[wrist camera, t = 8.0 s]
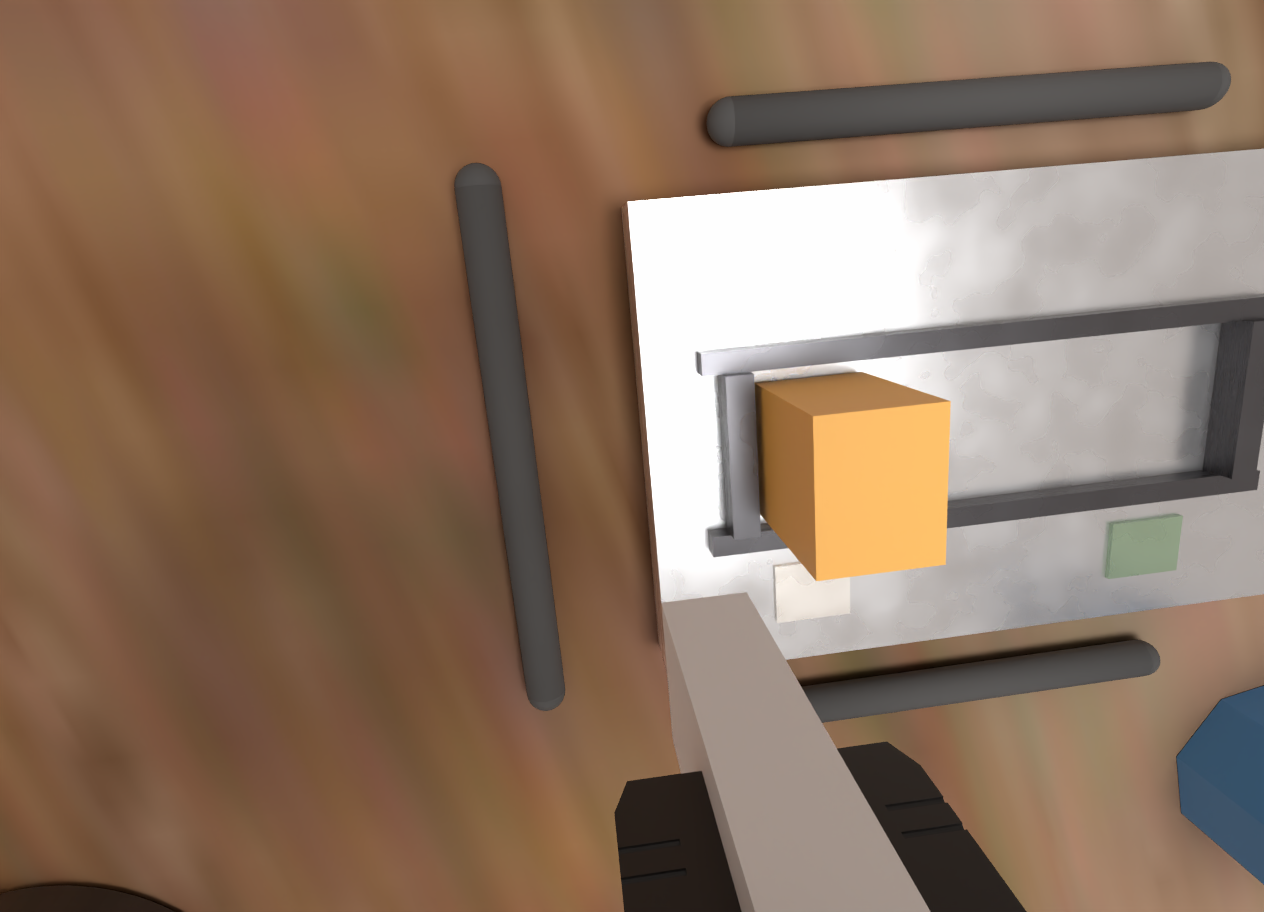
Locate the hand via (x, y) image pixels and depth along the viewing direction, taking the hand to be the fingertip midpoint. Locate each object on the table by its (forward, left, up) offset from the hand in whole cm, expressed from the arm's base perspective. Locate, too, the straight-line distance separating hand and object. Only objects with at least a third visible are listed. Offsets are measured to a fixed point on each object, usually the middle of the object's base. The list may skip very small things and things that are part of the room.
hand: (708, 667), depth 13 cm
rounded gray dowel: (-4, 0, -17) cm, 17 cm away
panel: (+14, 0, -17) cm, 22 cm away
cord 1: (+14, +11, -17) cm, 24 cm away
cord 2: (+14, -13, -17) cm, 25 cm away
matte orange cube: (+7, 0, -14) cm, 15 cm away
